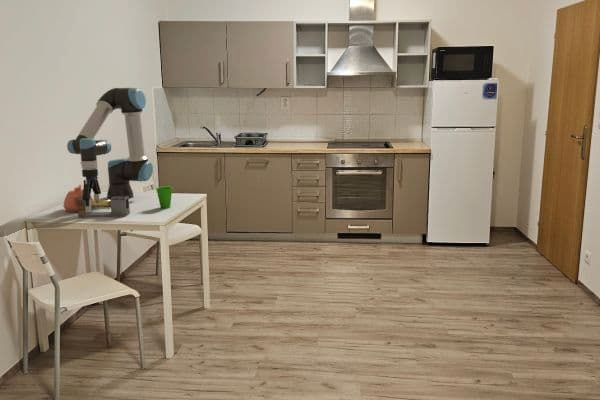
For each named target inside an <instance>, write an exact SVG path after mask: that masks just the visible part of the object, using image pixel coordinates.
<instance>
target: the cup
mask: <svg viewBox="0 0 600 400" xmlns="http://www.w3.org/2000/svg"><path fill="white" fill-rule="evenodd" d="M173 188H174V187H173V186H158V187H156V188H155V190H156V193H157V197H158V200H159V202H158V203H159V205H160V206H159V207H160V209H165V210H166V209H170V208H171V203H172V195H173V194H172V193H173Z"/></svg>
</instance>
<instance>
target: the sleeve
mask: <svg viewBox="0 0 600 400" xmlns="http://www.w3.org/2000/svg"><path fill="white" fill-rule="evenodd" d="M109 200H110V202H111V208H110V212H111V215H126V217H127V216H129V215H130V214H131V210H130V198H129V196H114V197H112V198H111V199H109ZM127 214H128V215H127Z"/></svg>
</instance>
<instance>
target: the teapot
mask: <svg viewBox="0 0 600 400" xmlns="http://www.w3.org/2000/svg"><path fill="white" fill-rule="evenodd" d="M73 189H74V190H69V191H68V192H67V194H66V195H65V198H64V201H63V209H64V210H66V211H67V212H72V213H75V212H77V213H78V205H77V198H78V197H80V196H82V195H83V188H82V185H81V184H78V186H76V187H73ZM90 200H94V198H93V197H92V196H91V195H90Z"/></svg>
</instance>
